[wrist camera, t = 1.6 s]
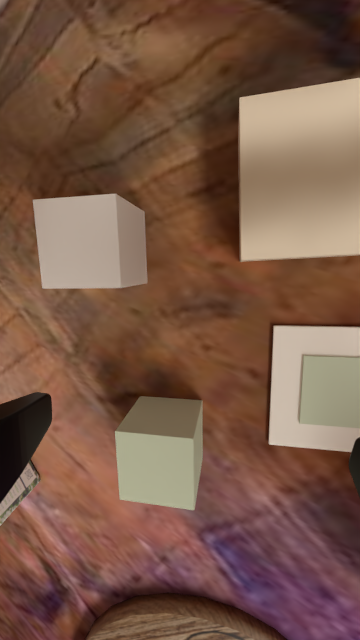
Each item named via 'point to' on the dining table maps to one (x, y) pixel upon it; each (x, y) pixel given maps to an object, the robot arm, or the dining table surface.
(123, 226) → the grey block
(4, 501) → the syrup box
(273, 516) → the dining table surface
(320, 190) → the birch base block
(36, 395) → the robot arm
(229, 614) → the trivet
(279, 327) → the card
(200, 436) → the sage block
